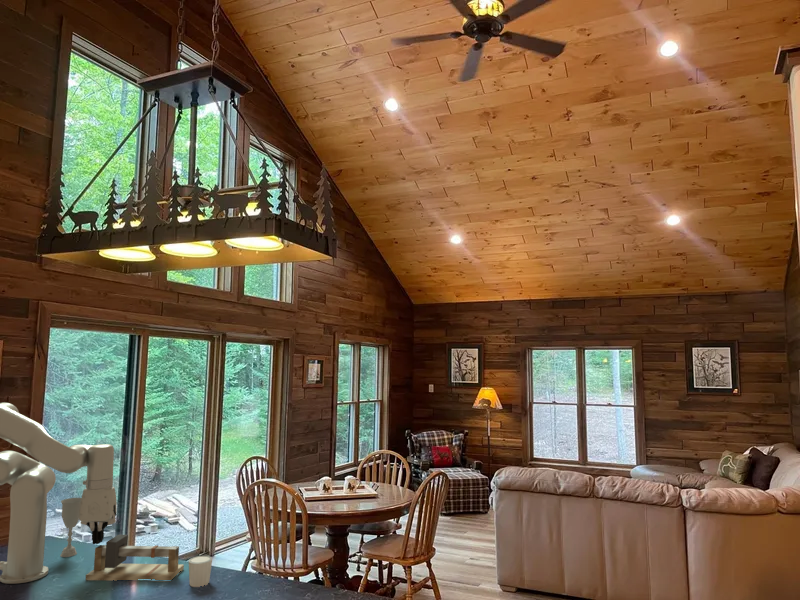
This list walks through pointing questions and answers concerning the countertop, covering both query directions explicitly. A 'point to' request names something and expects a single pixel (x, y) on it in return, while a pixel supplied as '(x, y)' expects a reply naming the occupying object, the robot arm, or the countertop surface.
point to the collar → (115, 551)
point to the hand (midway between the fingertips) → (97, 542)
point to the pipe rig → (137, 570)
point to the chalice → (70, 522)
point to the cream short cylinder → (199, 570)
